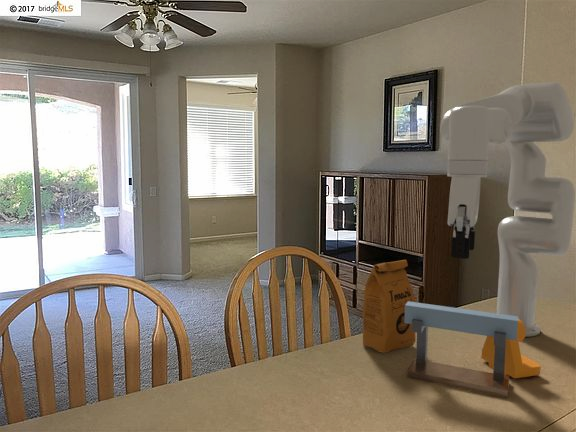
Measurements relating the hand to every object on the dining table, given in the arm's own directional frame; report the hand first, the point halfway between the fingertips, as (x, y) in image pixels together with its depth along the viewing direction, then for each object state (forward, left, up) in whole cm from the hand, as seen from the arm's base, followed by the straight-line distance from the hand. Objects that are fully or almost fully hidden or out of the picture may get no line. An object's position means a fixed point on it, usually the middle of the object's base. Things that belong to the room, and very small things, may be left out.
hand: (463, 253), depth 98 cm
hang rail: (0, 0, -16) cm, 16 cm away
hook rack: (-1, 0, -28) cm, 28 cm away
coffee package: (-13, -18, -28) cm, 36 cm away
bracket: (-13, +10, -28) cm, 33 cm away
